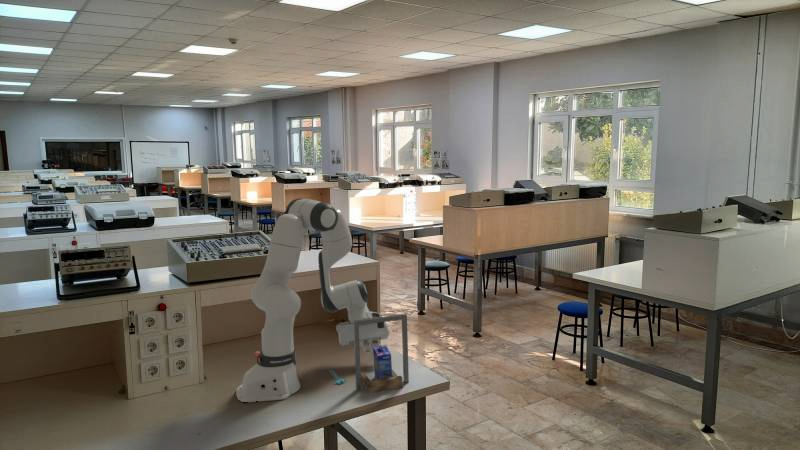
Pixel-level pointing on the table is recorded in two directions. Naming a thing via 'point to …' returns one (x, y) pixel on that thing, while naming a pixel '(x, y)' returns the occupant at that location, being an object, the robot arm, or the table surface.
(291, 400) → the table surface
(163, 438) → the table surface
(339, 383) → the adjustable wrench
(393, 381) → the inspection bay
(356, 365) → the scanner arch
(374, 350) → the ink cartridge box
